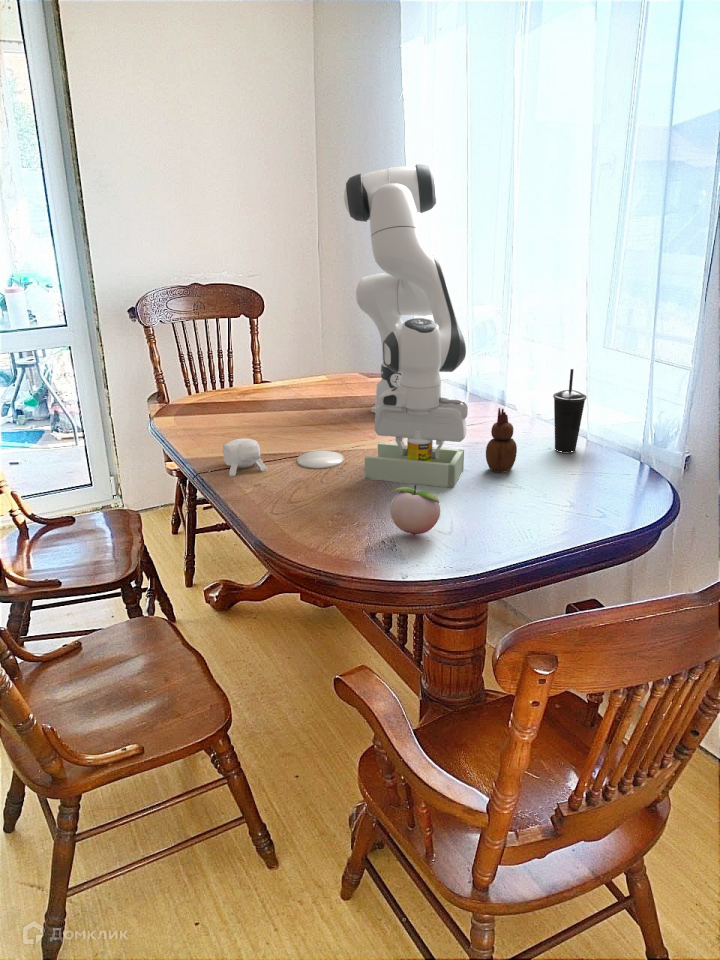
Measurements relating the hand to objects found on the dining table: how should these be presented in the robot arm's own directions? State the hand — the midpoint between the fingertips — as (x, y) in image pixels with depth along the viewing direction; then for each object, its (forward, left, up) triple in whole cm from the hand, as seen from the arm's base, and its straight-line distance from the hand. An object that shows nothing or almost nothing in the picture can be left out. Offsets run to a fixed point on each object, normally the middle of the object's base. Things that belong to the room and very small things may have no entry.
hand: (419, 456), depth 163 cm
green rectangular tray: (0, -1, -4) cm, 4 cm away
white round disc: (-3, -25, -4) cm, 26 cm away
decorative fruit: (+31, +7, -5) cm, 32 cm away
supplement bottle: (0, 0, -4) cm, 4 cm away
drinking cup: (-26, +30, -5) cm, 40 cm away
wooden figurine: (-8, +17, -5) cm, 19 cm away
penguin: (+8, -39, -5) cm, 41 cm away
